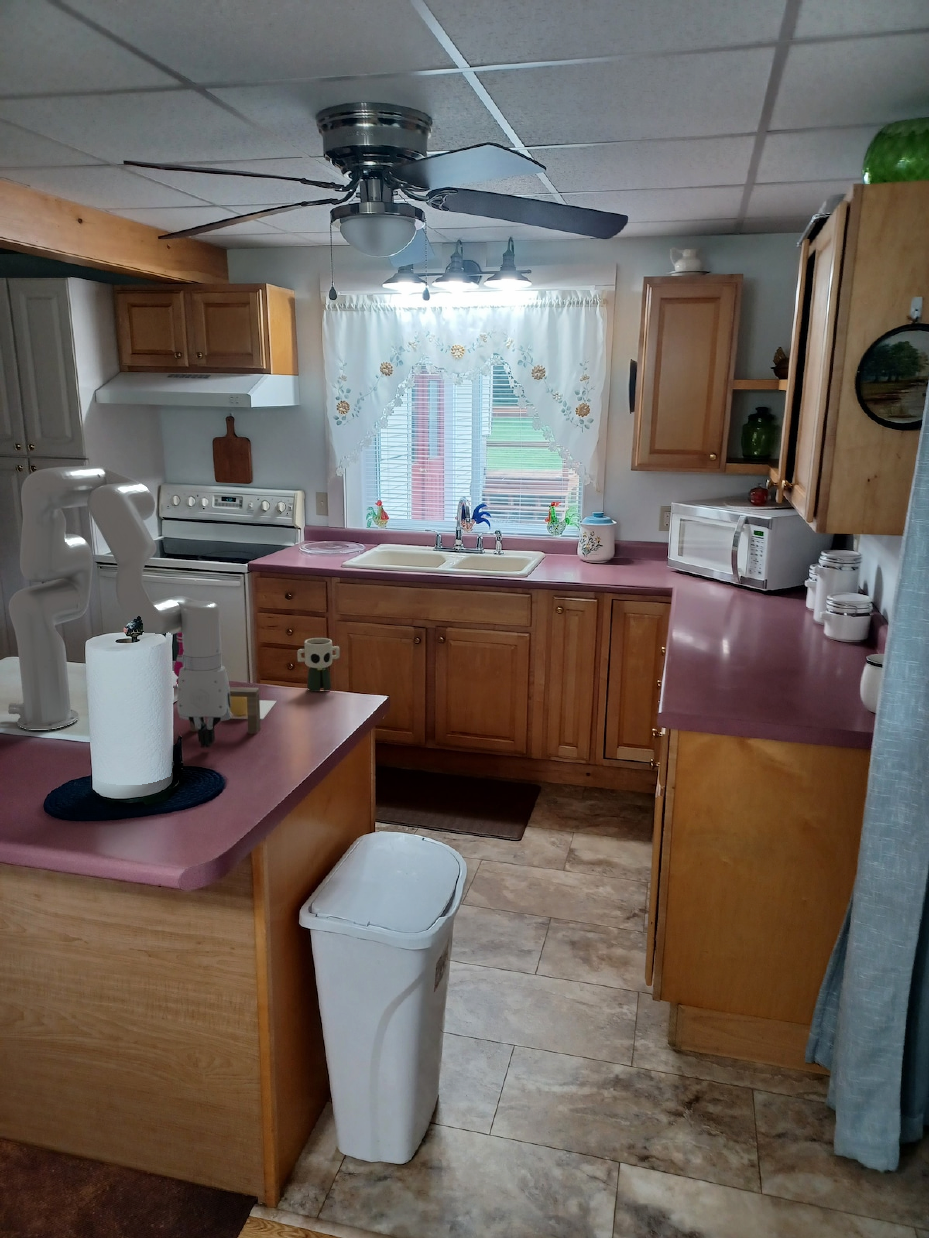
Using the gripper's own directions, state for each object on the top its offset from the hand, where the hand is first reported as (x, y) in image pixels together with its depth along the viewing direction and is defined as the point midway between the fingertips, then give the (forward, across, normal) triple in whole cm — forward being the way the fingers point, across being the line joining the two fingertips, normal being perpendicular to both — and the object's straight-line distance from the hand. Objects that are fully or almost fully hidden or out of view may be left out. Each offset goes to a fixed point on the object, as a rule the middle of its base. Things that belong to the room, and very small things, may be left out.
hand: (206, 745), depth 186 cm
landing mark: (+2, 0, +27) cm, 27 cm away
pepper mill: (+2, -19, +44) cm, 48 cm away
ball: (-2, 0, +23) cm, 23 cm away
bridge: (+2, 0, +13) cm, 13 cm away
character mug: (+2, +15, +44) cm, 47 cm away
